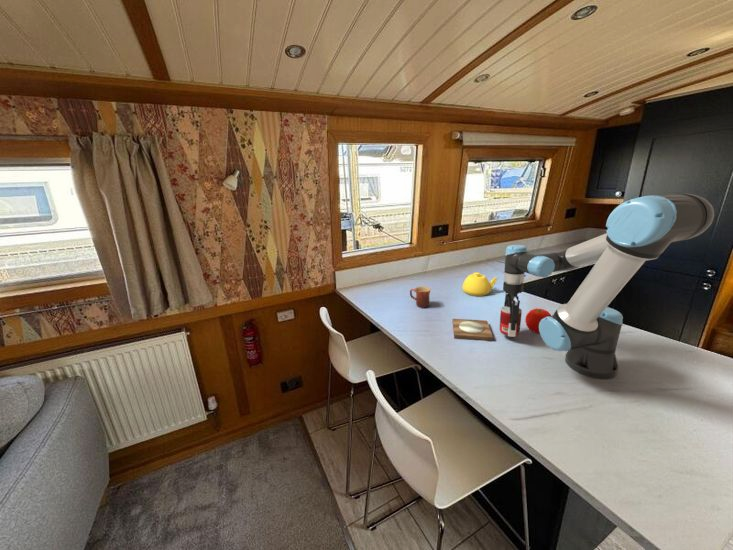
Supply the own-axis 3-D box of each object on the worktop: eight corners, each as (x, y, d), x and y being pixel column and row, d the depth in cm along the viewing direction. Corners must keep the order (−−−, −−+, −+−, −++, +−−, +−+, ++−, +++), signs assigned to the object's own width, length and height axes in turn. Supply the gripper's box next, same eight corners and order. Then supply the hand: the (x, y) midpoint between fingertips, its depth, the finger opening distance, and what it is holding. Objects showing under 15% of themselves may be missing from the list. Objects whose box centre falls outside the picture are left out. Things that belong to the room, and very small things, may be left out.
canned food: (521, 336, 121) (524, 312, 118) (501, 336, 123) (503, 312, 120) (516, 328, 128) (518, 305, 125) (497, 328, 130) (499, 305, 127)
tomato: (550, 328, 132) (554, 307, 128) (551, 339, 123) (554, 316, 120) (524, 324, 137) (527, 303, 134) (523, 333, 128) (526, 312, 125)
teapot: (463, 296, 173) (464, 276, 170) (460, 286, 191) (461, 267, 187) (498, 298, 169) (500, 277, 165) (493, 287, 186) (494, 268, 182)
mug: (432, 304, 165) (432, 287, 162) (428, 310, 158) (428, 292, 154) (412, 301, 170) (412, 285, 167) (407, 306, 163) (407, 290, 160)
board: (492, 341, 124) (493, 336, 123) (454, 338, 128) (454, 333, 127) (486, 324, 139) (487, 319, 138) (452, 322, 142) (452, 318, 142)
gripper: (531, 290, 109) (525, 343, 115) (516, 275, 128) (512, 322, 134) (509, 289, 110) (505, 342, 117) (498, 275, 130) (495, 321, 136)
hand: (509, 331), depth 125 cm, fingers closed on canned food, 8 cm apart
